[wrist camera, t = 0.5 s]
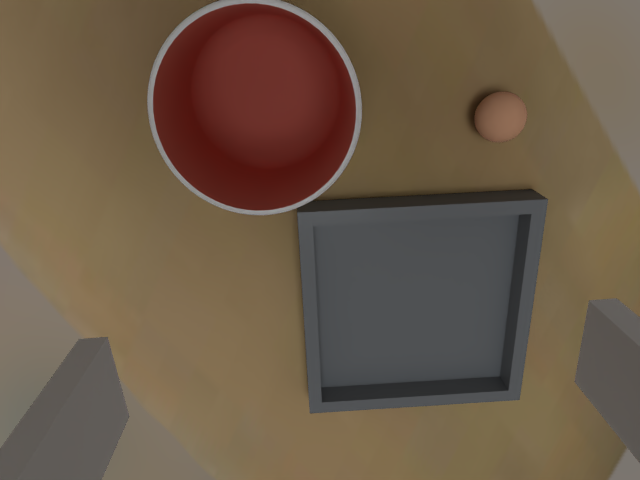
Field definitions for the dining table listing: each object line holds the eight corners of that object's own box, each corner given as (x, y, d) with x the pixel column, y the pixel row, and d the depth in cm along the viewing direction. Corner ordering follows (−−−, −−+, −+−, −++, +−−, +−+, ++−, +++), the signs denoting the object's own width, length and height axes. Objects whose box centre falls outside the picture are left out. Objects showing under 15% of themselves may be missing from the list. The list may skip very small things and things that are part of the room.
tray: (297, 201, 35) (297, 212, 33) (532, 189, 35) (547, 199, 33) (309, 393, 41) (309, 413, 39) (507, 380, 42) (519, 399, 39)
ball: (469, 90, 32) (487, 95, 29) (517, 88, 32) (539, 92, 29) (466, 138, 34) (482, 148, 31) (511, 136, 34) (532, 145, 31)
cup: (293, -24, 29) (291, -54, 20) (370, 121, 33) (398, 152, 24) (158, 64, 31) (100, 74, 22) (245, 194, 34) (226, 250, 25)
